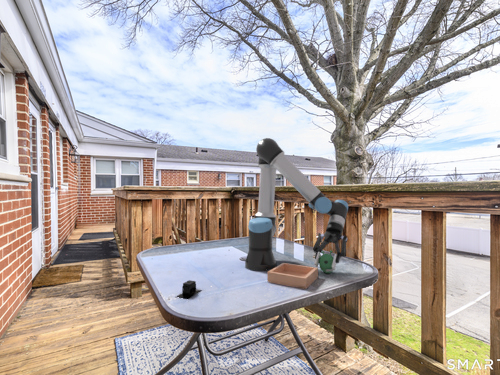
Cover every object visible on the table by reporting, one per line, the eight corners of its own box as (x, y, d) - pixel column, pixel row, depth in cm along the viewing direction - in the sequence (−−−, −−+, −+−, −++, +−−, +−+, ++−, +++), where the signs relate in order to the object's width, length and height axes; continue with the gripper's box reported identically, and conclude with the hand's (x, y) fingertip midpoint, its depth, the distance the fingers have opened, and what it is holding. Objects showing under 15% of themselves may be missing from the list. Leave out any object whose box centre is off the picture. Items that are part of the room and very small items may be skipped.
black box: (191, 287, 97) (191, 275, 97) (207, 290, 94) (207, 278, 94) (169, 300, 85) (169, 286, 85) (187, 303, 82) (187, 289, 82)
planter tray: (267, 281, 101) (267, 271, 102) (283, 271, 115) (283, 262, 115) (305, 289, 93) (305, 278, 93) (317, 277, 107) (317, 267, 107)
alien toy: (324, 276, 108) (324, 253, 109) (316, 271, 116) (316, 249, 116) (339, 275, 110) (338, 252, 110) (330, 270, 117) (329, 248, 117)
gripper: (358, 232, 120) (349, 275, 106) (317, 229, 132) (305, 267, 118) (355, 222, 116) (346, 266, 102) (314, 220, 127) (300, 258, 114)
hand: (324, 267), depth 110 cm, fingers closed on alien toy, 7 cm apart
